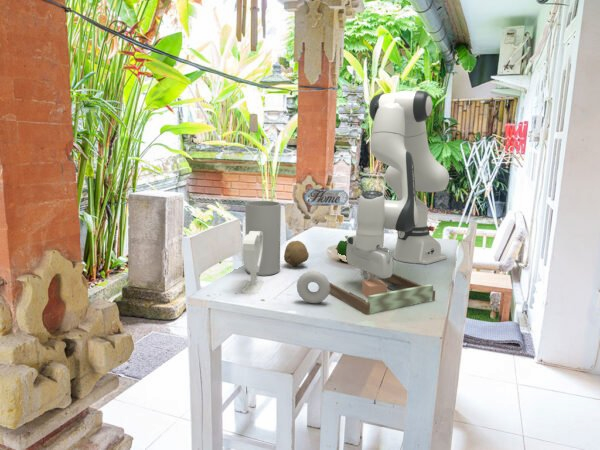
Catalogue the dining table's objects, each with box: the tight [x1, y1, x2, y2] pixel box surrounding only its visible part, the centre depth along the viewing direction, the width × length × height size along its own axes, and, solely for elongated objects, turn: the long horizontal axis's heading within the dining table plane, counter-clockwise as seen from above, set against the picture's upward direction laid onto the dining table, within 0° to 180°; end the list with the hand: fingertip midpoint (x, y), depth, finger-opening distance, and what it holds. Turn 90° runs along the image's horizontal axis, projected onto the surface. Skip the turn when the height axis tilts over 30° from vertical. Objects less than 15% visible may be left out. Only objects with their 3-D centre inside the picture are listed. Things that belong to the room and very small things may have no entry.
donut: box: [296, 270, 330, 304], centre depth 137 cm, size 10×4×10 cm, turn 81°
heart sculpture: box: [241, 231, 265, 295], centre depth 149 cm, size 16×5×18 cm, turn 174°
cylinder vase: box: [244, 200, 282, 277], centre depth 166 cm, size 12×12×25 cm
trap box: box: [328, 272, 436, 315], centre depth 146 cm, size 26×25×5 cm
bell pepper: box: [336, 235, 349, 256], centre depth 183 cm, size 8×8×10 cm
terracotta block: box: [361, 278, 388, 299], centre depth 145 cm, size 6×6×4 cm
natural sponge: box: [283, 240, 310, 267], centre depth 174 cm, size 9×9×10 cm
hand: (367, 283), depth 150 cm, fingers closed
